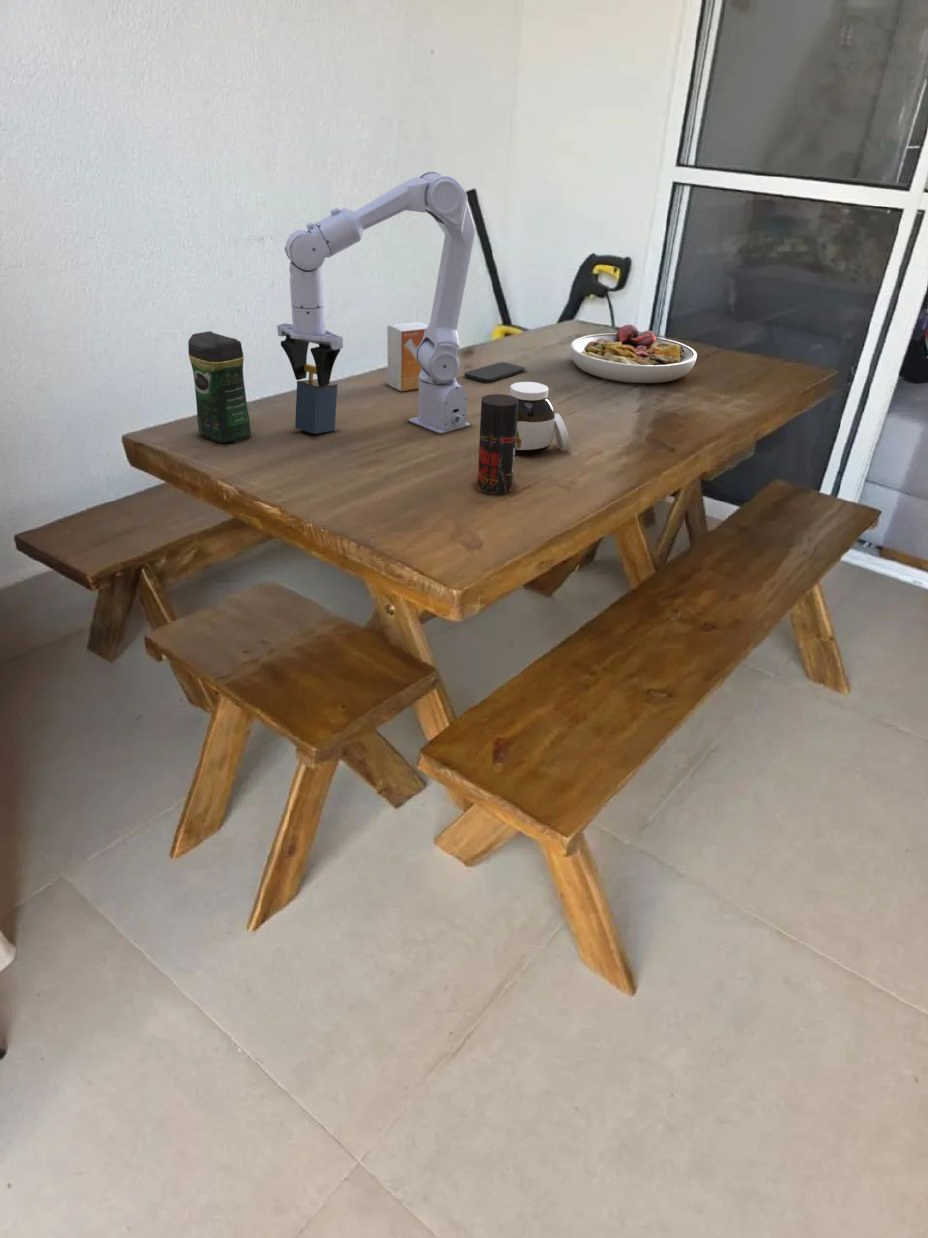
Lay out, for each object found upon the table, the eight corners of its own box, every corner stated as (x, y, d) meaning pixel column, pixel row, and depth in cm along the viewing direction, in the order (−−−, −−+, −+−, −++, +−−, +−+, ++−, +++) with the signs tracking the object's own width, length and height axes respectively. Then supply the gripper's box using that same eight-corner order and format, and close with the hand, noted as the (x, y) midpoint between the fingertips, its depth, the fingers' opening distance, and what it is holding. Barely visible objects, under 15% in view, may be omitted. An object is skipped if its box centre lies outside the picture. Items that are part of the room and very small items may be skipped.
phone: (526, 367, 203) (487, 379, 193) (526, 371, 203) (487, 383, 193) (501, 361, 207) (462, 372, 197) (501, 364, 207) (462, 376, 197)
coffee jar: (258, 437, 159) (249, 335, 149) (223, 447, 154) (211, 343, 144) (227, 424, 165) (216, 325, 155) (192, 434, 159) (178, 332, 150)
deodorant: (475, 480, 145) (479, 393, 138) (510, 480, 146) (516, 394, 138) (479, 494, 140) (483, 405, 133) (514, 494, 141) (521, 405, 133)
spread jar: (491, 444, 160) (495, 383, 154) (536, 433, 166) (541, 374, 160) (533, 465, 152) (539, 400, 146) (579, 452, 158) (586, 390, 152)
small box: (401, 392, 186) (401, 330, 179) (387, 384, 190) (386, 324, 183) (432, 387, 190) (433, 327, 183) (418, 379, 194) (418, 320, 187)
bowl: (705, 390, 195) (712, 355, 191) (575, 384, 195) (578, 349, 191) (679, 355, 221) (684, 324, 217) (563, 350, 221) (566, 319, 217)
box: (318, 363, 161) (296, 364, 157) (339, 368, 158) (318, 370, 154) (315, 424, 166) (294, 427, 162) (335, 430, 163) (315, 434, 159)
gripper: (262, 302, 151) (268, 378, 158) (321, 315, 144) (325, 394, 151) (291, 296, 156) (296, 370, 163) (350, 309, 149) (352, 386, 156)
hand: (312, 381), depth 158 cm, fingers closed on box, 5 cm apart
